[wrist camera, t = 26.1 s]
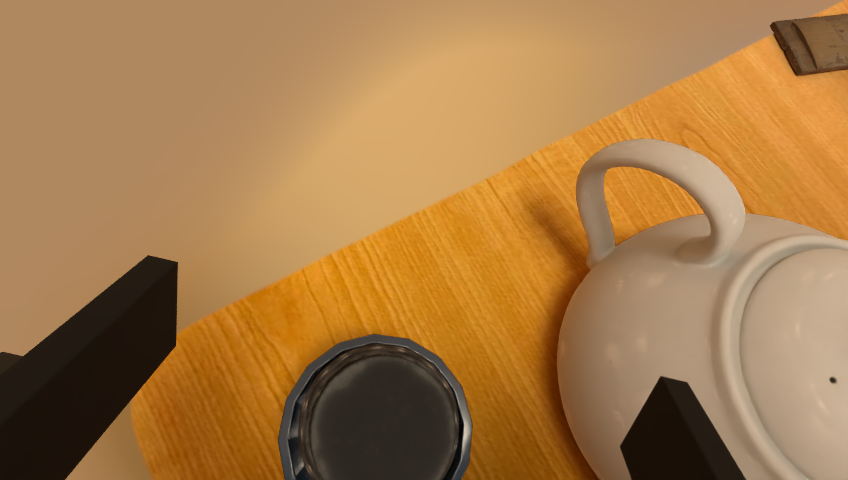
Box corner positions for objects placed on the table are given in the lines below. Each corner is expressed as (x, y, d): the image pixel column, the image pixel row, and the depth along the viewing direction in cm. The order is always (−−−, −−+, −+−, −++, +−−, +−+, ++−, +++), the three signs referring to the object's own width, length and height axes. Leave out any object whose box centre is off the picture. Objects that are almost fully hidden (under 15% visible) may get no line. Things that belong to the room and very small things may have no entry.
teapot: (798, 244, 33) (1075, 144, 20) (854, 561, 27) (1293, 700, 14) (528, 211, 32) (645, 79, 19) (525, 542, 26) (693, 682, 13)
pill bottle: (322, 354, 27) (299, 323, 16) (434, 362, 27) (481, 337, 17) (307, 480, 25) (270, 536, 14) (428, 486, 25) (476, 542, 15)
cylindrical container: (455, 359, 28) (479, 348, 22) (439, 518, 25) (462, 551, 20) (313, 340, 27) (301, 323, 22) (281, 500, 25) (259, 528, 19)
